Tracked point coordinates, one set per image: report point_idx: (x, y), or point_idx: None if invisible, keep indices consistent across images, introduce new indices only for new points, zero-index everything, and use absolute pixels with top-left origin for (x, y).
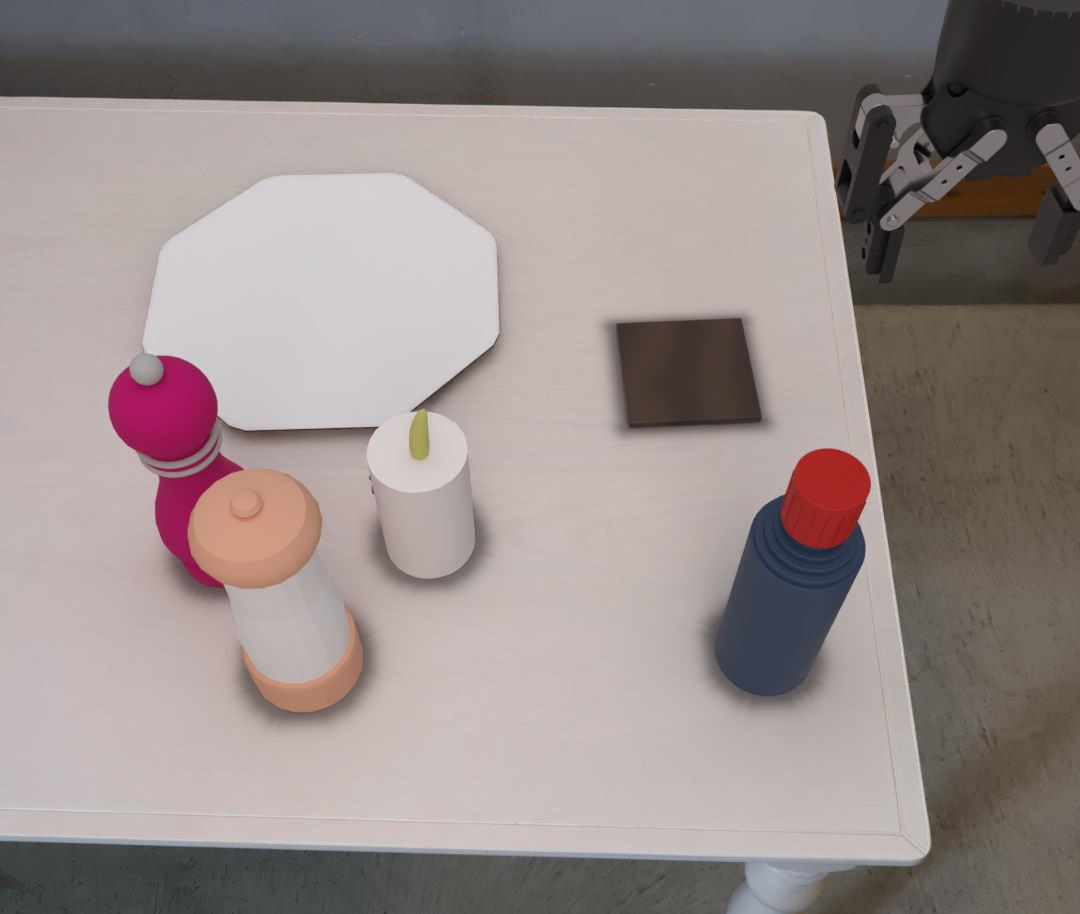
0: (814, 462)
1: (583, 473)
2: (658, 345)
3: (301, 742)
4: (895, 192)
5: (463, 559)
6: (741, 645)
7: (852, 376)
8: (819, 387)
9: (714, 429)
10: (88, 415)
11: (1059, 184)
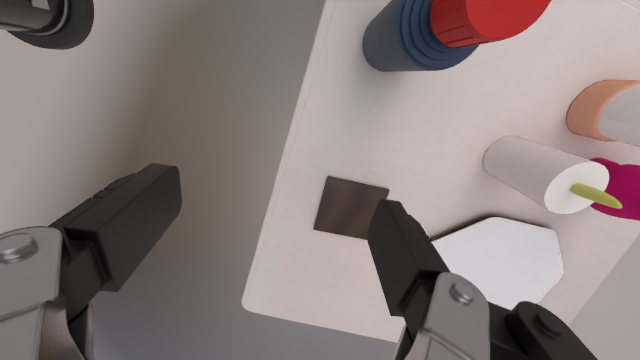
0: (513, 20)
1: (420, 171)
2: (356, 225)
3: (628, 64)
4: (408, 337)
5: (502, 141)
6: None
7: (273, 188)
8: (291, 186)
9: (350, 177)
10: (593, 251)
11: (87, 294)
